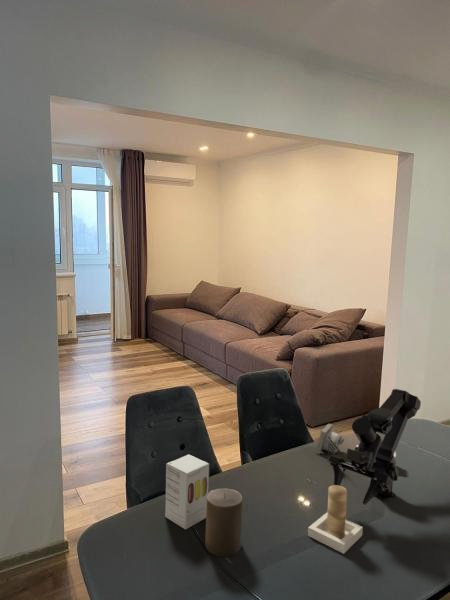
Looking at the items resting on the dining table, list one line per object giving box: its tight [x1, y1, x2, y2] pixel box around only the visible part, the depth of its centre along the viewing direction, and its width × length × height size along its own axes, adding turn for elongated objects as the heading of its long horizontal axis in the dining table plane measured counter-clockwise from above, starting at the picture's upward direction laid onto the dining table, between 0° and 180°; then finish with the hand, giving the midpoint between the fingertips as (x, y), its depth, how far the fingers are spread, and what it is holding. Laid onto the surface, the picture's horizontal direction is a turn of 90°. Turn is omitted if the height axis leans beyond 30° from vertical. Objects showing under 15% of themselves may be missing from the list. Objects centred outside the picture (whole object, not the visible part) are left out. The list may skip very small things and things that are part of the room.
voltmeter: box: [315, 423, 345, 458], centre depth 174 cm, size 27×11×10 cm, turn 5°
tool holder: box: [307, 512, 364, 555], centre depth 126 cm, size 11×11×2 cm
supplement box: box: [164, 454, 210, 530], centre depth 133 cm, size 10×9×17 cm
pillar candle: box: [204, 488, 243, 558], centre depth 121 cm, size 10×10×15 cm
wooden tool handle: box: [326, 484, 348, 539], centre depth 126 cm, size 5×5×13 cm
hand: (348, 498), depth 131 cm, fingers open, 9 cm apart
